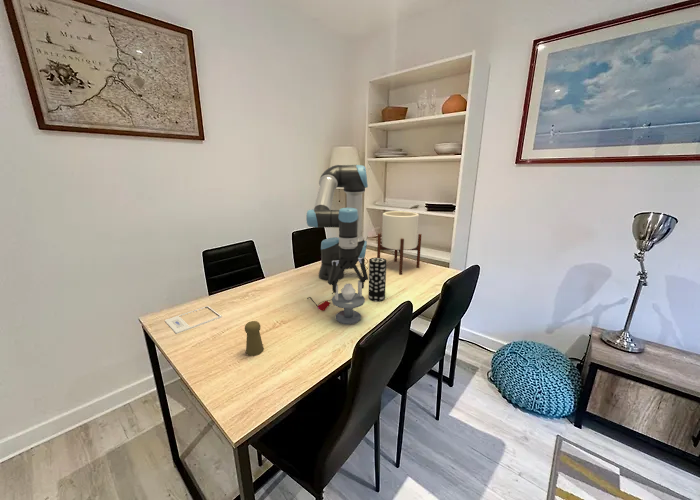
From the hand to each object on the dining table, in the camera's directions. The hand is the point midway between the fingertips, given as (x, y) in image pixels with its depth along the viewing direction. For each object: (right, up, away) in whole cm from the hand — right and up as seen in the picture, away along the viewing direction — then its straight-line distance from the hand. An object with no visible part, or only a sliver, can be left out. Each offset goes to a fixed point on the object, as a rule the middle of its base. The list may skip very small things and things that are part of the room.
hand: (348, 297), depth 121 cm
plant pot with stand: (+33, +8, +67) cm, 75 cm away
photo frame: (-67, -10, +2) cm, 67 cm away
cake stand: (0, -9, +3) cm, 10 cm away
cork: (-33, -16, -20) cm, 42 cm away
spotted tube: (+14, -4, +22) cm, 26 cm away
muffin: (0, -1, 0) cm, 1 cm away
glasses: (-11, -6, +17) cm, 21 cm away
